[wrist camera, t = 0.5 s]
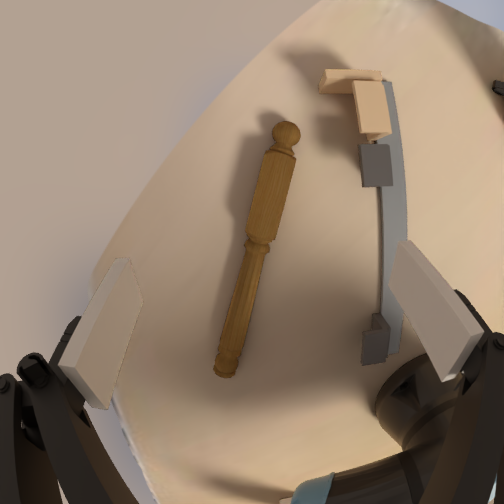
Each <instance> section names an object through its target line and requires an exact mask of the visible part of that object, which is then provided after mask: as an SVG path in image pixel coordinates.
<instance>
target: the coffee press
mask: <svg viewBox="0 0 504 504" xmlns="http://www.w3.org/2000/svg"><path fill="white" fill-rule="evenodd" d="M492 90H493V91H494V92H495V93H497V94H500V95H502V96H504V82H501V81H497V80H494V81H493V86H492Z"/></svg>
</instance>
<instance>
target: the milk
mask: <svg viewBox="0 0 504 504" xmlns="http://www.w3.org/2000/svg"><path fill="white" fill-rule="evenodd" d="M291 499H292V497H290V498H285V499H281V500H280V503H279V504H290V503H291Z"/></svg>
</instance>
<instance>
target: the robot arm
mask: <svg viewBox="0 0 504 504" xmlns="http://www.w3.org/2000/svg"><path fill="white" fill-rule="evenodd" d="M388 286H389V288H390V290H391V291H392V293H393V294H394V296H395V298H396V299H397V301H398V303H399V304H400V306H401V308H402V309H403V311H404V313H405V315H406V316H407V318H408V320H409V321H410V323H411V325H412V327H413V328H414V330H415V332H416V334H417V336H418V337H419V339H420V341H421V343H422V345H423V347H424V348H425V350H426V352H427V354H424V355H422V356H419V357H417V358H415V359H413V360H411V361H410V362H408V363H407V364H405V365H404V366H402V367H401V368H400V369H399V370H397V371H396V372H395V373H394V374H393V375H392V376H391V377H390V378H389V379H388V380H387V382H386V383H385V384H384V386H383V387H382V389H381V390H380V392H379V394H378V397H377V399H376V404H375V412H376V415H377V418H378V421H379V423H380V425H381V427H382V428H383V429H384V430H385V431H386V432H387V433H388V434H389V435H390V436H391V437H392V438H393V439H394V440H395V441H396V442H397V443H398V444H399V445H400V446H401V447H402V450H403V452H401V453H398V454H395V455H392V456H390V457H387V458H384V459H381V460H378V461H375V462H372V463H369V464H366V465H363V466H360V467H357V468H353V469H350V470H346V471H342V472H339V473H335V472H332V473H330V474H329V475H326V476H323V477H319V478H315V479H311V480H307V481H305V482H303V483H301V484H300V485H299V486H298V487H297V488H296V490H295V492H294V494H293V496H292V499H291V503H290V504H488V503H489V502H490V501H491V500H492V499H493V498H494V497H495V498H494V504H504V335H503V334H502V333H498V332H494V333H493V332H492V331H491V330H490V328H489V327H488V326H487V324H486V323H485V321H484V320H483V319H482V317H481V316H480V315H479V313H478V312H477V311H476V309H475V308H474V307H473V305H471V303H470V301H469V300H468V299H467V298H466V296H465V295H463V294H462V293H461V292H459V291H458V290H457V289H456V290H453V289H452V288H451V286H450V285H449V284H448V283H447V281H446V280H445V279H444V278H443V277H442V275H441V274H440V273H439V272H438V271H437V269H436V268H435V267H434V266H433V265H432V264H431V262H430V261H429V260H428V259H427V258H426V257H425V256H424V255H423V253H422V252H421V251H420V250H419V249H418V248H417V247H416V246H415V245H414V243H413V242H412V241H411V240H408V241H398V245H397V250H396V254H395V259H394V263H393V267H392V272H391V276H390V280H389V284H388ZM143 302H144V301H143V298H142V295H141V292H140V289H139V286H138V283H137V280H136V277H135V274H134V271H133V267H132V264H131V261H130V258H116V259H115V261H114V262H113V264H112V266H111V267H110V269H109V270H108V272H107V274H106V275H105V277H104V279H103V280H102V282H101V284H100V285H99V287H98V289H97V291H96V292H95V294H94V296H93V298H92V299H91V301H90V303H89V305H88V306H87V308H86V310H85V312H84V314H83V316H77V317H75V319H73V320H72V321H71V322H70V323H69V324H68V326H67V328H66V330H65V332H64V335H63V336H62V338H61V340H60V342H59V344H58V345H57V347H56V349H55V351H54V353H53V355H52V357H51V359H50V361H49V363H47V362H46V360H45V359H44V358H43V356H42V355H41V354H39V353H30V354H28V355H26V356H25V357H23V359H22V360H21V361H20V362H19V364H18V367H17V374H18V375H19V376H20V378H21V379H22V380H23V381H17V380H16V379H15V378H14V377H13V375H11V374H3V375H1V376H0V504H63V503H62V499H61V494H60V490H59V485H58V481H59V484H60V486H61V488H62V490H63V492H64V494H65V497H66V499H67V501H68V503H69V504H139V503H138V501H137V500H136V498H135V497H134V496H133V494H132V493H131V491H130V490H129V488H128V487H127V485H126V484H125V482H124V480H123V479H122V477H121V476H120V474H119V472H118V471H117V469H116V467H115V466H114V464H113V462H112V460H111V459H110V457H109V455H108V453H107V452H106V450H105V448H104V446H103V444H102V442H101V440H100V438H99V437H98V434H97V432H96V430H95V428H94V426H93V425H92V422H91V420H90V418H89V416H88V414H87V411H86V410H85V409H84V407H83V405H84V402H85V400H86V401H87V402H88V404H90V406H91V407H92V408H98V409H104V410H108V408H109V405H110V401H111V398H112V394H113V391H114V387H115V384H116V381H117V378H118V374H119V371H120V368H121V365H122V362H123V359H124V356H125V353H126V350H127V347H128V344H129V341H130V338H131V335H132V332H133V330H134V327H135V324H136V321H137V318H138V316H139V313H140V310H141V308H142V305H143ZM21 422H22V428H21ZM57 479H58V481H57Z"/></svg>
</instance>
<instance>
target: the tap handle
mask: <svg viewBox="0 0 504 504" xmlns="http://www.w3.org/2000/svg"><path fill="white" fill-rule="evenodd" d="M272 135H273V138H274V140H275V141H276V143H275V144H274V145H273V146H271V147H270V150H267V151H266V152H265V154H264V158H263V162H262V166H261V170H260V174H259V177H258V181H257V185H256V189H255V193H254V197H253V201H252V205H251V209H250V213H249V217H248V221H247V225H246V229H245V232H246V233H247V236H248V237H249V239H248V240H247V241H246V242H245V244H244V246H245V247H246V252H245V256H244V259H243V263H242V266H241V270H240V273H239V276H238V280H237V283H236V287H235V290H234V294H233V297H232V300H231V304H230V307H229V311H228V314H227V318H226V321H225V325H224V328H223V331H222V335H221V338H220V344H219V347H218V350H219V352H220V353H219V354H218V355H217V356H216V359H215V365H214V368H213V370H214V372H215V374H217V375H218V376H220V377H223V378H231V377H232V376H234V375H235V372H236V369H237V366H238V359H237V357H238V356H240V355H241V351H242V348H243V345H244V341H245V337H246V333H247V329H248V325H249V320H250V316H251V312H252V308H253V304H254V300H255V295H256V291H257V287H258V283H259V278H260V274H261V270H262V266H263V261H264V257H265V254H266V253H268V252H269V250H270V247H269V244H268V243H269V242H272V240H275V238H276V235H277V231H278V227H279V223H280V220H281V216H282V212H283V209H284V205H285V201H286V197H287V194H288V190H289V186H290V182H291V178H292V175H293V171H294V167H295V163H296V158H295V157H293V155H294V152H293V151H292V146H293V145H295V144H297V143H298V141H299V140H300V136H301V134H300V130H299V128H298V127H297V126H296V125H295V124H294V123H292V122H288V121H283V122H280V123H278V124H277V125H276V126H275V127H274V128H273V131H272Z"/></svg>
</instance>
